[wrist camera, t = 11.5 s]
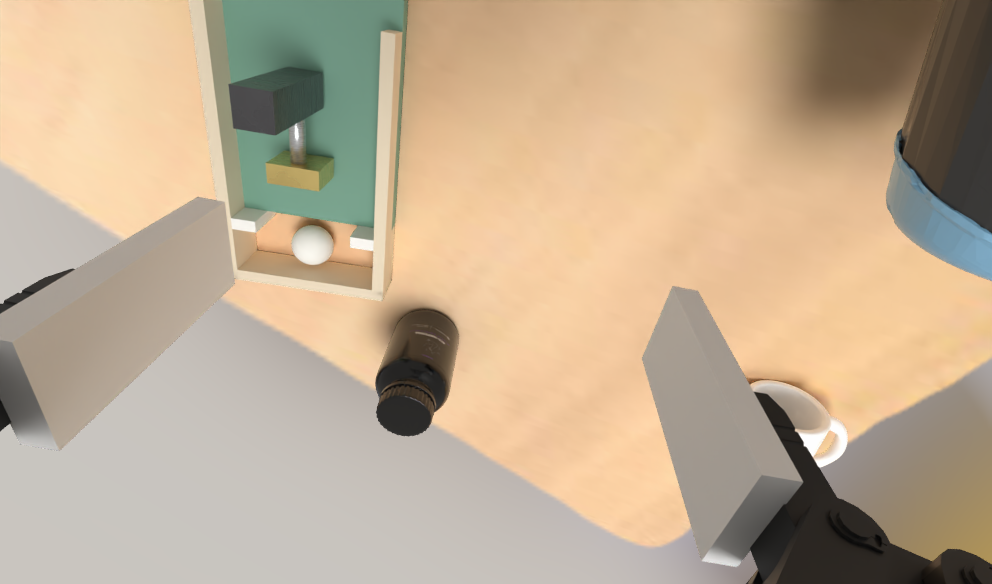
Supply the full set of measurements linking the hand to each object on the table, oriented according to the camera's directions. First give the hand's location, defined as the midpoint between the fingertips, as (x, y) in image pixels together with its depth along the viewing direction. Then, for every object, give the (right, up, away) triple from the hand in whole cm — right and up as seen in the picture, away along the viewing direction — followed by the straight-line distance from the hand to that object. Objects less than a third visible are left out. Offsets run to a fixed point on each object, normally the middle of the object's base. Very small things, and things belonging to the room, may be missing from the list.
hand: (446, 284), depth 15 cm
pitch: (-14, +12, +27) cm, 33 cm away
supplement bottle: (-6, -5, +37) cm, 38 cm away
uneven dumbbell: (-13, +13, +25) cm, 31 cm away
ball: (-15, +4, +30) cm, 34 cm away
